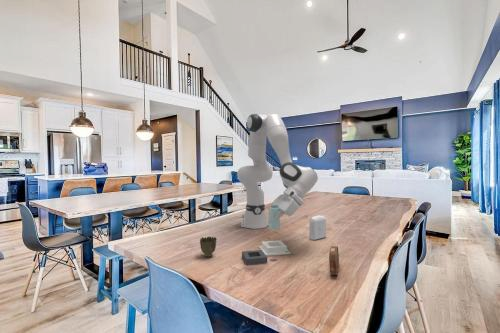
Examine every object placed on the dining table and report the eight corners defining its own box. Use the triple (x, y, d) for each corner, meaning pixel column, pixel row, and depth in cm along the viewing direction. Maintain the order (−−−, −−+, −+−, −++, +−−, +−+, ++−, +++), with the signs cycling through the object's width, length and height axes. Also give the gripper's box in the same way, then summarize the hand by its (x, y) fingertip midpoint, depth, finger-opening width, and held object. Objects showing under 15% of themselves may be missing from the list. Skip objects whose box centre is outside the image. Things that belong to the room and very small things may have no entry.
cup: (202, 253, 120) (201, 236, 120) (217, 253, 120) (217, 236, 119) (198, 259, 112) (198, 241, 112) (215, 259, 112) (215, 241, 112)
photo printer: (321, 235, 146) (321, 213, 145) (327, 237, 142) (327, 215, 142) (308, 238, 140) (308, 216, 140) (314, 240, 137) (314, 217, 136)
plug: (269, 227, 124) (268, 204, 124) (277, 227, 125) (276, 204, 125) (271, 230, 120) (271, 206, 120) (279, 229, 121) (279, 205, 121)
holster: (242, 257, 115) (241, 251, 115) (261, 255, 117) (261, 249, 117) (246, 265, 106) (246, 259, 106) (267, 263, 108) (267, 257, 108)
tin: (337, 279, 94) (337, 256, 93) (328, 278, 95) (328, 255, 95) (339, 263, 108) (339, 243, 107) (331, 262, 109) (331, 242, 109)
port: (258, 247, 127) (258, 241, 127) (281, 245, 130) (281, 239, 130) (265, 256, 116) (265, 249, 116) (290, 253, 119) (290, 247, 118)
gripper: (280, 188, 134) (262, 208, 132) (296, 194, 114) (275, 217, 112) (288, 197, 135) (270, 216, 133) (305, 203, 115) (285, 227, 113)
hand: (273, 217), depth 122 cm, fingers closed on plug, 4 cm apart
